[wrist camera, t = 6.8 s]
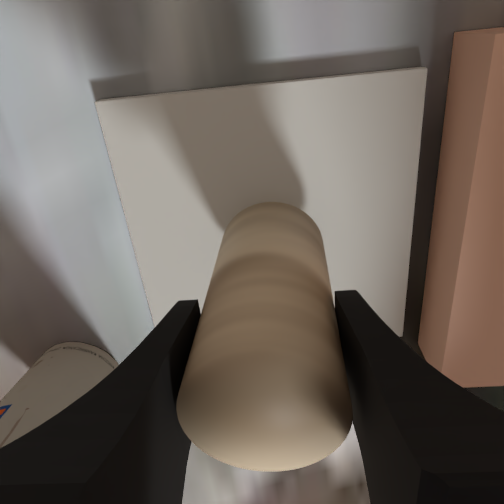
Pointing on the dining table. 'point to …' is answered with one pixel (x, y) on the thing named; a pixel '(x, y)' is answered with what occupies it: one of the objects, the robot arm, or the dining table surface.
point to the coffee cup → (52, 387)
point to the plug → (267, 348)
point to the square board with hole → (469, 220)
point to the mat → (272, 176)
